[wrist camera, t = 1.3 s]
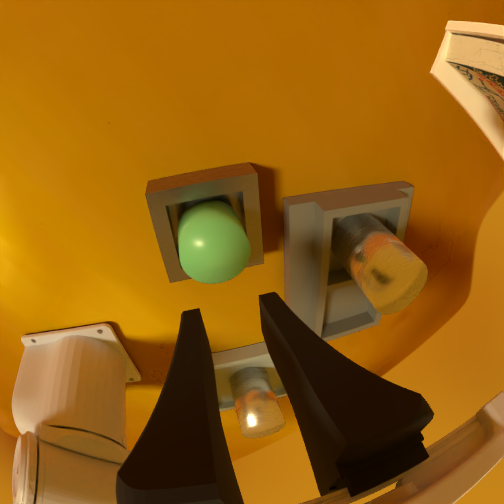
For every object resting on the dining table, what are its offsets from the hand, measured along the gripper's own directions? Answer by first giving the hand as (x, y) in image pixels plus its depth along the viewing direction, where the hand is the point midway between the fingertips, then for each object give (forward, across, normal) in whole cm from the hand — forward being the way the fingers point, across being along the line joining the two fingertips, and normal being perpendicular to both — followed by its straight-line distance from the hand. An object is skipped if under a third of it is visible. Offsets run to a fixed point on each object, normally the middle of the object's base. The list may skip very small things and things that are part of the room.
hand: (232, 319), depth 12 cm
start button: (+7, 0, 0) cm, 7 cm away
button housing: (+9, 0, 0) cm, 9 cm away
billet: (+8, -1, +18) cm, 20 cm away
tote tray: (+9, -1, +18) cm, 20 cm away
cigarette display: (+9, -27, -7) cm, 29 cm away
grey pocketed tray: (+9, -10, +6) cm, 15 cm away
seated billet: (+8, -10, +3) cm, 13 cm away
